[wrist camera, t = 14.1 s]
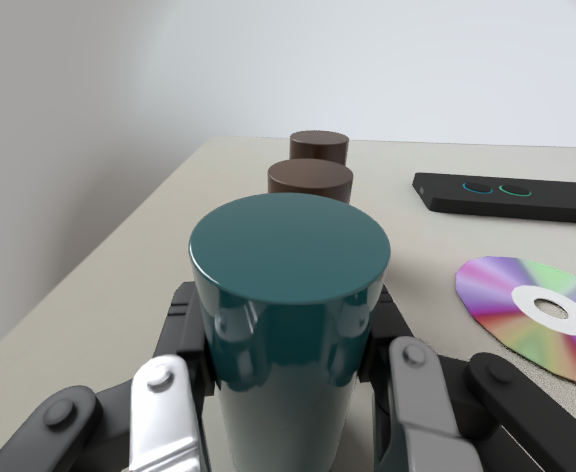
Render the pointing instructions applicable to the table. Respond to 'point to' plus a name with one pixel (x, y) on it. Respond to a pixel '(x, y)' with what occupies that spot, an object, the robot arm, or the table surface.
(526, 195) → the smart home device
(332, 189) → the brown wooden cylinder
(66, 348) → the table surface
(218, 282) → the teal cylinder
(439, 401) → the robot arm
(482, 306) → the cd
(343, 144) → the cylinder
